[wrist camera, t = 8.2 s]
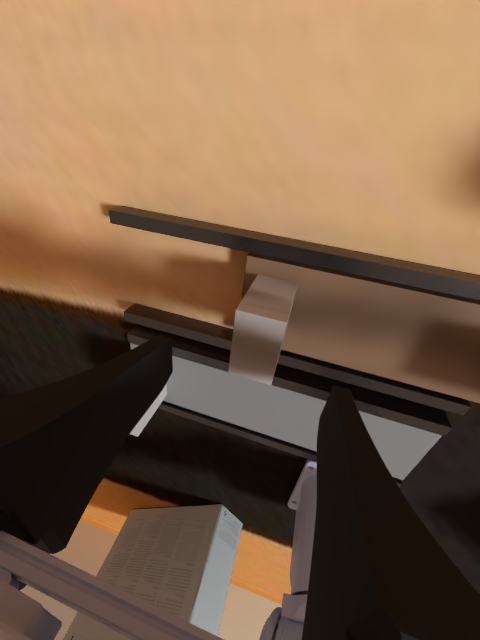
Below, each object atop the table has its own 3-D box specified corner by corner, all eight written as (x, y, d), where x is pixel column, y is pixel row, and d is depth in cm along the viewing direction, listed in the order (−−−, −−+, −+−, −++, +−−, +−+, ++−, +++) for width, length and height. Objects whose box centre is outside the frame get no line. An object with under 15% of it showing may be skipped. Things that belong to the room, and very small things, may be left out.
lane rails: (394, 472, 23) (397, 489, 22) (145, 390, 27) (137, 401, 26) (545, 288, 13) (565, 300, 12) (123, 206, 18) (108, 209, 16)
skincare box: (152, 525, 47) (84, 666, 34) (131, 507, 46) (51, 648, 33) (247, 526, 37) (199, 730, 24) (223, 502, 35) (159, 707, 22)
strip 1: (637, 434, 15) (763, 549, 11) (240, 329, 20) (213, 381, 15) (759, 356, 12) (1010, 473, 8) (251, 250, 16) (220, 286, 12)
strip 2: (400, 468, 22) (417, 547, 18) (143, 384, 27) (104, 431, 22) (437, 423, 19) (470, 506, 14) (137, 336, 23) (90, 379, 19)
